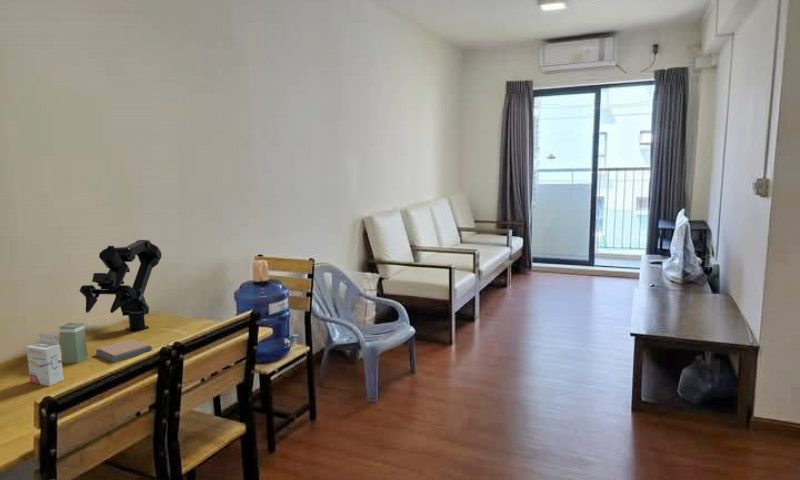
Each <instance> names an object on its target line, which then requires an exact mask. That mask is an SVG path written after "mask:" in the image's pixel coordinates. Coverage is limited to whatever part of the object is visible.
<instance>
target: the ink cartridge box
mask: <svg viewBox="0 0 800 480" xmlns="http://www.w3.org/2000/svg"><path fill="white" fill-rule="evenodd" d="M38 337H39V339H40V340H39V342H37V343H36V342H35V343H33V344H28V345H27V346H26V347H25V348H26V349H25V350H26V356H27V365H28V373H29V381H30V383H32V384H37V385H41V386H47V387H48V386H49V387H51V386H53V385H55V384H58V383H60V382H62V381H64V378H65V377H64V369H63V359H62V354H61V352H62V351H61V344H60V342H59V337H58V335H57V334H52V333H47V332H45V333H44V332H39V333H38ZM48 337H49V338H48Z"/></svg>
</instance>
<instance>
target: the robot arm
mask: <svg viewBox="0 0 800 480" xmlns="http://www.w3.org/2000/svg"><path fill="white" fill-rule="evenodd" d="M136 256H137V258H138V260H139V263H140V264H139V268H138V270H137V272H136V276H135V277H134V281H133V284H132V286H131V285H130V284H129V285H127V284H125V281H124V278H125V276H126V274H127V273H130V272H131V270H130V267H129V264H127V263H132V262H133V261H134V260H135V259H136ZM98 257H99V259H100V260H101V262H102V263H103V264H104V265H105V267H106V268H107V269H108V271H107V272H94V273H93V274H92V279H91V282H92V283H95V284H97V286H98V288H97V287H95V286H94V285H93V284H84V285H81V286H80V289H79V290H78V291H79V292H80V293H81V294H82V295H83V296H84V297H85V313H87V314H89V313H90V312H91V311H92V309H93V308H94V306H95V305H96V303H97V302H98V298H99V297H100V295H113V296H115V298H114V301H113V302H112V304H111V307H110V310H109V313H112V314H113V313H114V312H116V311H117V310H118V309H120V310H121V314H122V317H125V316H128V325H129V327H126V328H125V330H127V331H131V332H139V331H142V330H145V329H149V328H150V326H149V325H146V321H145V320H146V319H145V315H148V314H149V313H150V306H149V305H148V304H147V301H146V298H145V296H144V294H145V291H146V289H147V288H146V287H147V285H148V283H149V279H150V277H151V273H152V270H153V268H155V267H156V266H157V265H158V264H159V263H160V260H161V259H162V251H161V250H160V247H158V246H157V245H155V244H153V243H152V242H151V241H150V240H149V239H138V240H136V241H135V242H133V243H131V244H129V245H127V246H119V247H116V246H114V245H108V246H107V247H106V248H104V249H102V250H101V251H100V252H99V253H98Z"/></svg>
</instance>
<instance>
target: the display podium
mask: <svg viewBox="0 0 800 480" xmlns="http://www.w3.org/2000/svg"><path fill="white" fill-rule="evenodd" d="M152 348H153V347H152V345H150V344H147V343H144V342H141V341H140V340H136V339H134V338H131V339H126V340H124V341H120V342H117V343H113V344H110V345H107V346H106V345H105V346H102V347H98V348H97V349H95V354H96V356H98V357H101V358H103V359H105V360H107V361H110V362H112V363H114V364H115V363H117V362H121V361H125V360H127V359H132V358H135V357H137V355H138V356H140V355H139V354H141V355H143V354H142V353H145V352H148V351H151V350H152V351H153V349H152ZM152 351H151V352H152ZM148 353H149V352H148ZM145 354H146V353H145Z"/></svg>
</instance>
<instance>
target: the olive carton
mask: <svg viewBox="0 0 800 480" xmlns="http://www.w3.org/2000/svg"><path fill="white" fill-rule="evenodd" d="M59 336H60V347H61V352H62V354H61V355H62V364H63V363H64V364H80V363H83V361H86V360H88V359H89V355H88V348H87V337H86V330H85V323H84V322H82V323H81V322H68V323H66V324H63V325H61V326H59Z"/></svg>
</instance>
